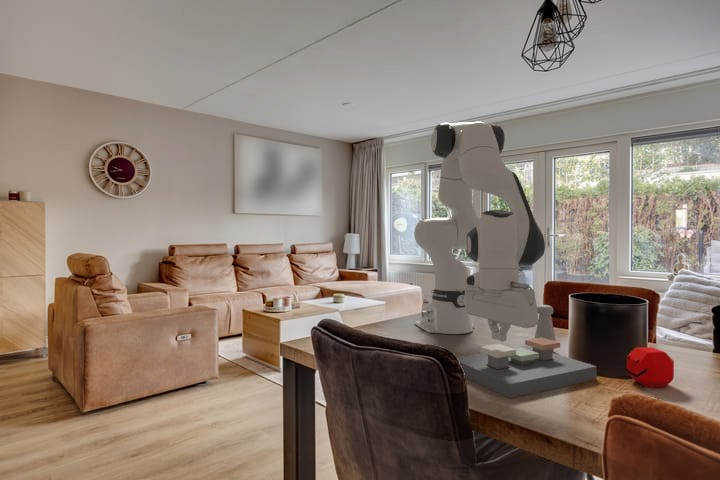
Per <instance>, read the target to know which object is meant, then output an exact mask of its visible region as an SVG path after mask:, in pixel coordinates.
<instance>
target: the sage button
mask: <svg viewBox="0 0 720 480" xmlns="http://www.w3.org/2000/svg"><path fill="white" fill-rule="evenodd" d="M519 347H520V348H517V347H513V348H514V349H516V355H513V356H508V357H510V358H511V362H513V363H515V364H518V365H527V364H531V360H532V359H538V358H539V353H537V352H534V351H530V350H527V349H524V348H521V347H522V346H519Z"/></svg>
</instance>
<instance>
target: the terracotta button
mask: <svg viewBox="0 0 720 480" xmlns="http://www.w3.org/2000/svg"><path fill="white" fill-rule="evenodd" d="M524 345H525V346H531V347H533V351H534V352H537V353H539V358H538V359H539V360H542V361H545V360H550V359H553V353H554V351H553V349H554V348H555V349H560V348H561V342H560V341H557V340H556V341H553V340H549V339H546V338H542V337H541V338H535V337H534V338H528V339H525V340H524ZM555 349H554V350H555Z"/></svg>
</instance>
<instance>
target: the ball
mask: <svg viewBox="0 0 720 480" xmlns="http://www.w3.org/2000/svg"><path fill="white" fill-rule="evenodd" d="M626 374H628V375H629V376H630V378H632V379H633V380H634V382H636V383H638V384H641V385H643V386H644V387H647V388H666V386H667V385H669V384H670V383H671V382H673V380H674V378H675V376H674V375H675V361H674V360H673V358H671V356H669V354H668V353H667V352H665V351H663V350H660V349H657V348H654V347H653V346H651V347H650V346H649V347H647V346H645V347H635V348H634V349H633V350H631V352H630V353H629V354H628V355H627V357H626Z"/></svg>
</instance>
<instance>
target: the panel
mask: <svg viewBox="0 0 720 480" xmlns="http://www.w3.org/2000/svg"><path fill="white" fill-rule="evenodd" d="M520 347H521V348H524V349H527V350H530V351H533V347H531V346H528V345H525V346H518V347H516V348H520ZM512 348H513V349H514V348H515V347H512ZM456 357H457V358H458V360H459V362H460V365H461V366H462V368H463V370H464V373H465V376H466V377H465V378H466V379H469V380H471V381H472V382H475V383H477V384H479V385H481V386H482V387H486V388H487V389H490V390H491V391H494V393H497V394H499V395H502V396H503V397H505V398H508V399H514V398H518V397H524V396H528V395H533V394H537V393H541V392H547V391H549V390H554V389H559V388H563V387H567V386H568V387H570V386H572V385H577V384H581V383H585V382H586V383H587V382H590V381H595V380H597V373H598V372H597V366H596V365H593V364H591V363H587V362H583V361H581V360H577V359H574V358H571V357H567V356H565V355H560V354H558V353H554V352H553V359H550V360H545V361H542V360H539V359H532V360H531V364H527V365H518V364H515V363H513V362H511V358H510V357H508V367H506V368H501V369H496V368H494V367H491V366H489V365H488V354H485V353H482V352H480V353H475V354H466V355H461V356H456Z"/></svg>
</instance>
